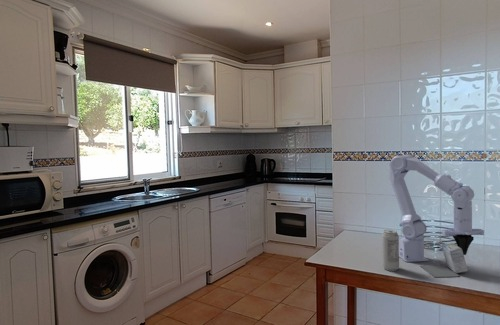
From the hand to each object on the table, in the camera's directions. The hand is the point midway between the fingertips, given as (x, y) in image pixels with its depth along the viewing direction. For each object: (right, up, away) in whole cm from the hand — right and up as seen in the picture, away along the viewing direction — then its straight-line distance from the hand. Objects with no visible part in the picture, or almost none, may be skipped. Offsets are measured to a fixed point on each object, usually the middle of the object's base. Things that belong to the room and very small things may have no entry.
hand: (462, 254), depth 122 cm
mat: (-9, -7, +1) cm, 11 cm away
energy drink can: (-25, -7, +5) cm, 27 cm away
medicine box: (-2, -6, 0) cm, 6 cm away
